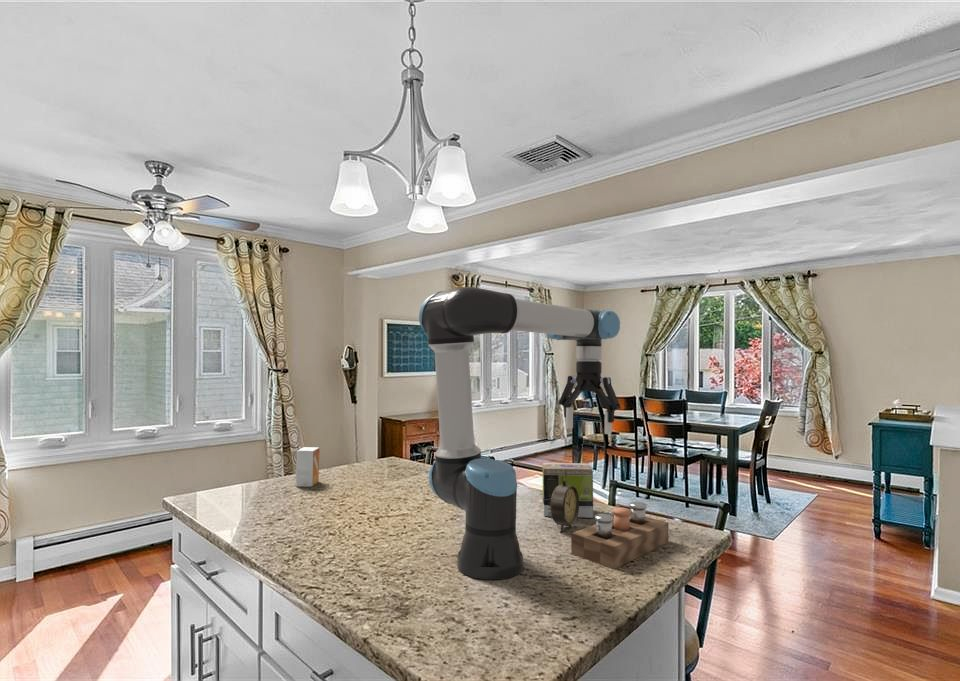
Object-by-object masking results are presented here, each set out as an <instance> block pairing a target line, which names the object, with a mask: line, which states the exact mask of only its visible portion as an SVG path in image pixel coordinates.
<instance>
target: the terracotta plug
mask: <svg viewBox="0 0 960 681" xmlns="http://www.w3.org/2000/svg"><path fill="white" fill-rule="evenodd" d="M612 514H613V518H614V529H615V530H619V531H622V532H627V531H629V515H630V514H631V510H630V508H626V507H613V508H612Z"/></svg>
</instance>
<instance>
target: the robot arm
mask: <svg viewBox="0 0 960 681" xmlns="http://www.w3.org/2000/svg"><path fill="white" fill-rule="evenodd" d="M418 321H419V325H420V328H421V330H423V331H424V333H425V334H426V335H427V345H428V347H429V348H430V349H431V350H432V351H433V353H434V359H435V361H434V362H435V364H434V365H435V379H436V392H437V393H436V395H437V406H438V407H437V408H438V410H437V411H438V424H439V425H438V426H439V427H438V428H439V441H440V442H439V444H440V446H439V448H437V450H436V451H435V452H434V458H435V459H434V461H433V463H432V465H431V466H430V469H429V473H428V481H429V486H430V488H431V490H432V492H433V493H434V494H435V496H437V497H438V498H439V499H440V500H441V501H443V502H444V503H447V504H449V505H452V506H455V507H456V508H459V509H461V510H462V511H465V526H464V527H465V530H464V535H463V538H462V542H461V546H460V549H459V550H458V553H457V558H456V559H457V560H456V561H457V564H456V566H457V569H458V570H459V571H460V573H462V574H464V575H466V576H468V577H471V578H476V579H480V580H491V581H492V580H505V579H508V578H512V577H515V576H516V575H519V574H520V573H522V571H523V569H524V555H523V553H522V551H521V548H520V546H521V545H520V542H519V539H518V536H517V531H516V530H517V529H516V528H517V491H518V490H517V489H518V482H517V472H516V469H515V468H514V467H513V466H512V465H511V464H510V463H507V462H506V461H503V460H500V459H494V458H486V457H485V458H483V457H482V452H481V448H480V447H479V446H478V445H476V443H475V434H474V432H475V431H474V420H473V416H474V414H473V402H472V401H473V400H472V388H471V387H472V385H471V383H472V382H471V370H470V367H471V366H470V352H469V351H470V348H471V347H472V346H473V345H474V344H475V338H474V337H475V336H477V335H485V334H508V333H510V332H511V331H516V332H524V333H525V332H527V333H538V334H545V335H546V336H547V337H548V338H549V339H550V340H556V341H575V342H576V349H575V350H576V351H575V352H576V358H575V359H576V360H577V361H576V363H575V368H576V369H575V371H576V376H575V375H568V376H567V381H566V385H565V387H564V389H563V391H562V393H561V396H560V398H559V400H558V405H559V406H560V405H561V406H562V407H563V409H564V410H563V417H564V418H565V429H567V430H569V429H574V407H573V406H572V405H573V404H574V403H575V401H576V400H577V399H578V397H579V396H580V395H581V394H582V393H583V392H589V393H590V392H591V393H592V392H593V393H594V394H595V395H596V396H597V398H598V399H599V401H601V403H602V404H603V407H605V409H606V410H605V411H604V435H610V434H612V433H613V432H612V430H613V428H612V427H613V426H612V423H614V422H615V412H616V411H618V410H620V409H621V408H622V407H621V404H620V402H619V400H618V398H617V395H616V393H615V390H614V388H613V386H612V379H611V377H609V376H608V377H607V376H606V377H602V366H603V365H602V364H603V363H602V361H601V360H602V354H603V353H602V350H603V348H602V342H603V341H602V340H609V339H615V337H616V336H618V334H619V332H620V329H621V320H620V317H619V315H618V314H617V313H616V312H615V311H612V310H599V309H583V308H577V307H571V306H570V307H569V306H565V305H564V306H563V305H557V304H550V303H544V302H537V301H530V300H524V299H519V298H518V299H516V297H515V296H514V295H512V294H511V293H507V292H506V293H505V292H501V291H496V290H490V289H486V288H481V287H473V286H464V287H463V286H462V287H459V288H452V289H446V290H441V291H438V292H436V293H433V294H430V295H429V296H428V297H427V298H425V300H424V301H423V302H422V304H421V306H420V309H419V313H418ZM576 383H577V384H576ZM575 384H576V386H575ZM601 384H602V385H603V387H602V386H601ZM573 388H574V389H573ZM603 388H604V389H603ZM604 391H605V392H604Z"/></svg>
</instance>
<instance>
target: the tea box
mask: <svg viewBox="0 0 960 681" xmlns="http://www.w3.org/2000/svg"><path fill="white" fill-rule="evenodd" d="M564 470H565V471H566V474H565V471H564ZM563 471H564V473H563ZM562 473H563V480H565V476H566V475H567V476H566V480H565V481H566V482H565V483H566V485H569V486H574V487H575V488H576V490H577V492H578V497H579V512H578V516H577V518H588V519H589V518H590V519H591V518H592V519H594V471H593V468H592V466H591V465H590V463H587V462H583V463H581V462H580V463H578V462H542V508H543V509H542V510H543V517H552V515H551V508H550V505H551V497H552V494H553V491H554V489H555V488H556V487H557V486H559V485H563V482H562Z"/></svg>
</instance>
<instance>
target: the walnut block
mask: <svg viewBox="0 0 960 681" xmlns="http://www.w3.org/2000/svg"><path fill="white" fill-rule="evenodd" d="M570 534H571V540H570V543H571V546H570V549H571V551H570V552H571V553H570V554H571V555H573V556H576V557H579V558H582V559H585V560H588V561H589V562H593V563H596V564H598V565H600V566H601V565H602V566H603V567H604V566H605V567H607V568H610V569H613V570H616V569H618V568H619V567H621V566H623V565H625V564H628V563H629V562H631V561H634V560H636V559H637V558H640V557H641V556H643V555H645V554H648V553H649V552H652V551H653V550H655V549H657V548H659V547H661V546H663V545H665V544H667V543H669V522H667V521H664V520H660V519H655V518H652V517H649V516H645V524H643V525H639V524H635V523H631V522H630V515H629V531H627V532H622V531H619V530H615V529H614V517H613V522H612V538H610V539H608V540H606V539H603V538H599V537H596V523H595V524H593V525H589V526H587V527H584V528H582V529H579V530H577V531H576V530H575V531H574V532H571V533H570Z"/></svg>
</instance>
